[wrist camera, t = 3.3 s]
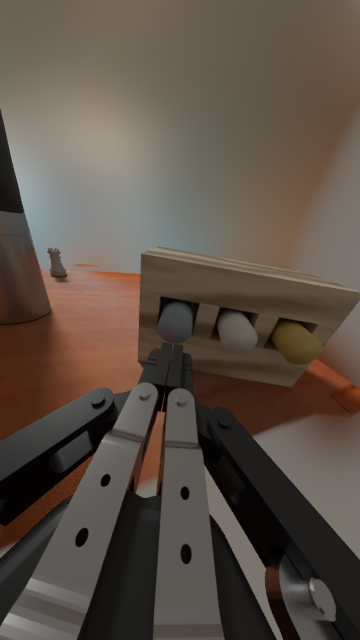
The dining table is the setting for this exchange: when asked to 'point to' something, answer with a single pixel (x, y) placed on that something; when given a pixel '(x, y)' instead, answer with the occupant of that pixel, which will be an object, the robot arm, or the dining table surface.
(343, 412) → the dining table surface
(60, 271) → the rook chess piece
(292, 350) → the ochre button
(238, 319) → the white button
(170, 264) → the block
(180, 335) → the slate button
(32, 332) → the dining table surface
